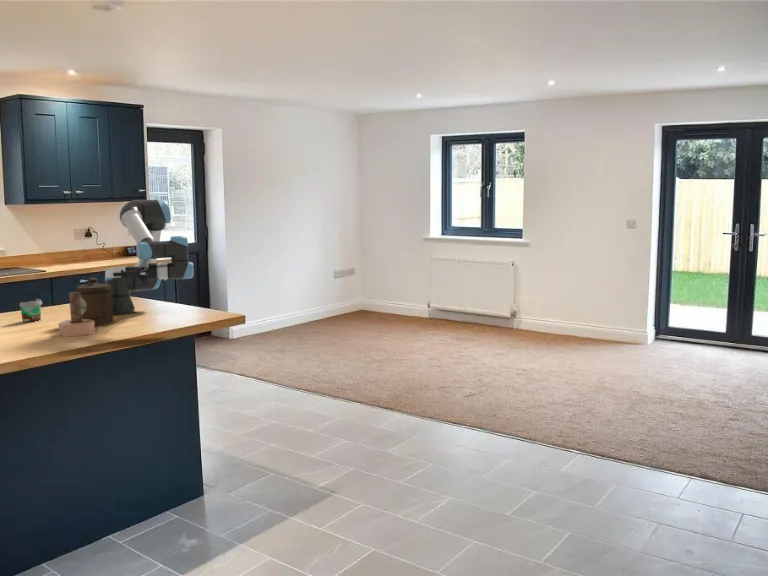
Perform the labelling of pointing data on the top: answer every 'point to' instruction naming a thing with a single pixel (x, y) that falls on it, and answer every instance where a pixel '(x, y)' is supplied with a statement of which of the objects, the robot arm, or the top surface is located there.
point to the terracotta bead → (76, 327)
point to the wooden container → (96, 302)
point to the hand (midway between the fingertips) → (107, 272)
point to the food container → (31, 310)
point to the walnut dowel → (75, 307)
